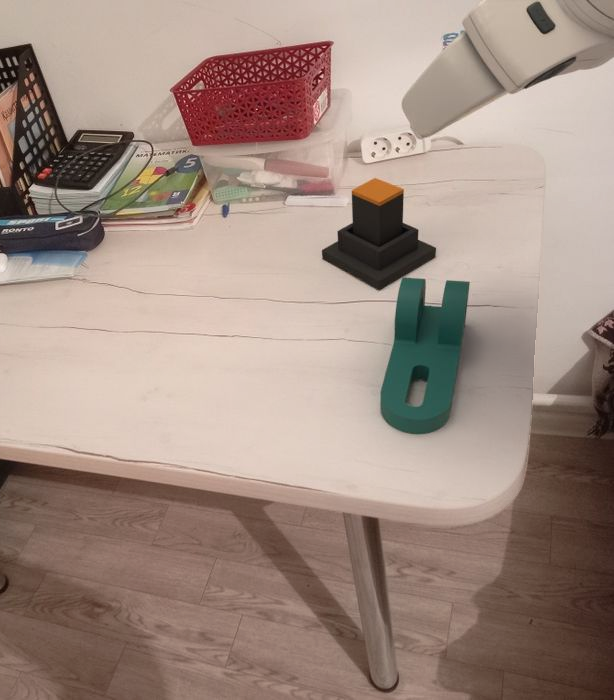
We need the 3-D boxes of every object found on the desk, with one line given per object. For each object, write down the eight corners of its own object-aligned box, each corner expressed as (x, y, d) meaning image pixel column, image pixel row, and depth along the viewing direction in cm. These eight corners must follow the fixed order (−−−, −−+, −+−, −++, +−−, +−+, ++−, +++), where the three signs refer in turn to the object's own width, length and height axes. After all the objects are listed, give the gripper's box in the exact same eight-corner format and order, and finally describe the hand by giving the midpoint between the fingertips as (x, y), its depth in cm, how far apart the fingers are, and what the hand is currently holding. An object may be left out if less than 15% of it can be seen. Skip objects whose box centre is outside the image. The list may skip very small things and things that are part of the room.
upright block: (402, 248, 84) (404, 188, 78) (379, 261, 83) (379, 202, 77) (375, 235, 88) (374, 177, 82) (353, 247, 87) (351, 190, 81)
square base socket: (435, 256, 83) (437, 228, 80) (378, 290, 81) (378, 262, 78) (375, 228, 91) (375, 201, 88) (322, 258, 89) (320, 232, 86)
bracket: (404, 318, 76) (405, 265, 71) (465, 323, 73) (471, 269, 68) (374, 427, 65) (374, 374, 60) (445, 439, 62) (451, 384, 57)
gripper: (658, -87, 46) (519, 38, 59) (456, 14, 41) (354, 124, 54) (707, -17, 45) (555, 92, 59) (509, 92, 41) (393, 184, 54)
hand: (457, 109), depth 56 cm, fingers open, 8 cm apart
